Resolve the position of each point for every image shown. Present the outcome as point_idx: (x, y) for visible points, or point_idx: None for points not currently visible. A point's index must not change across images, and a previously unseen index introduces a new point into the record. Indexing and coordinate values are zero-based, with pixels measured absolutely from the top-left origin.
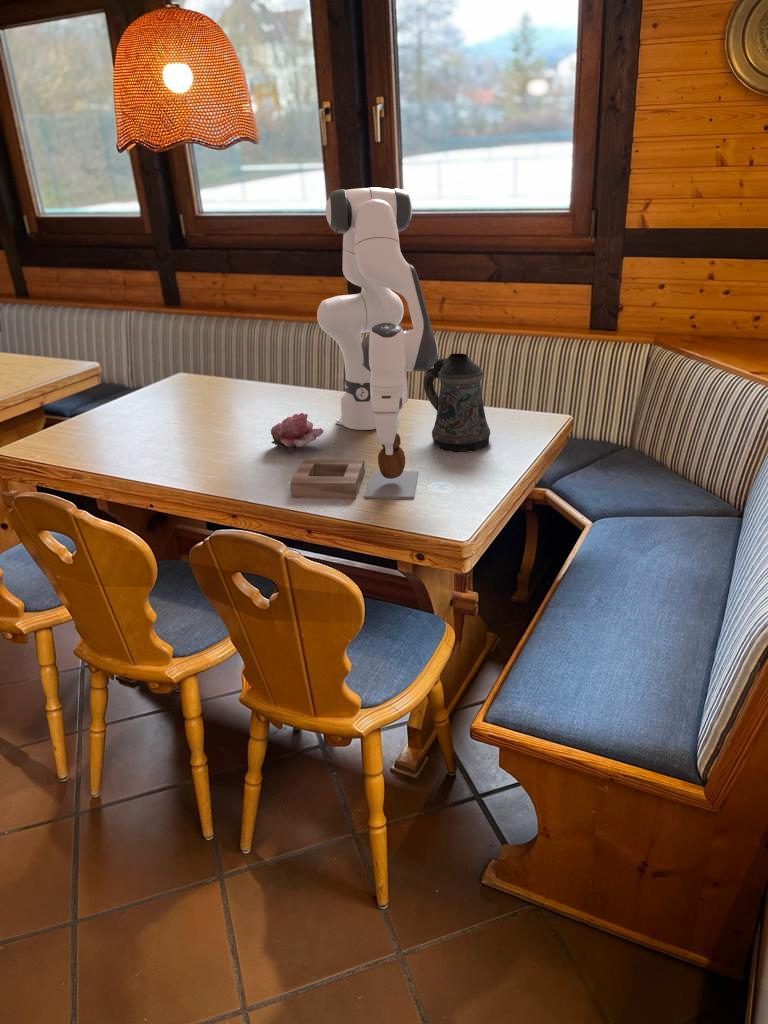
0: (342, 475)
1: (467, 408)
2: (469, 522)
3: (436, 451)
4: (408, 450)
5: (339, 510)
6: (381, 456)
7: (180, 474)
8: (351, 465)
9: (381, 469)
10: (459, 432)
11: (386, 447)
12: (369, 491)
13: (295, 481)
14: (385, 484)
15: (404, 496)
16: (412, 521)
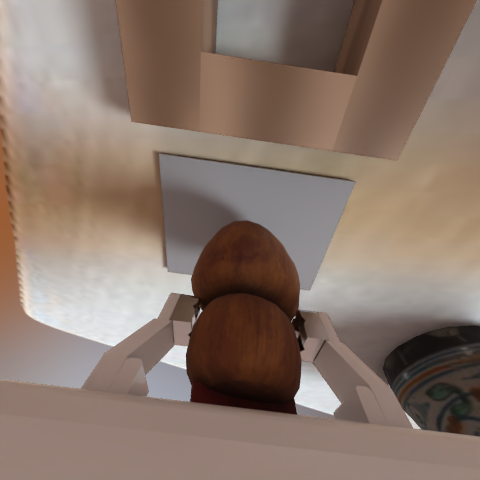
0: (344, 52)
1: None
2: (91, 329)
3: (422, 325)
4: (472, 278)
5: (56, 60)
6: (205, 262)
7: None
8: (336, 94)
9: (219, 230)
10: (425, 402)
11: (149, 326)
12: (193, 170)
13: None
14: (240, 216)
15: (166, 255)
16: (63, 258)
